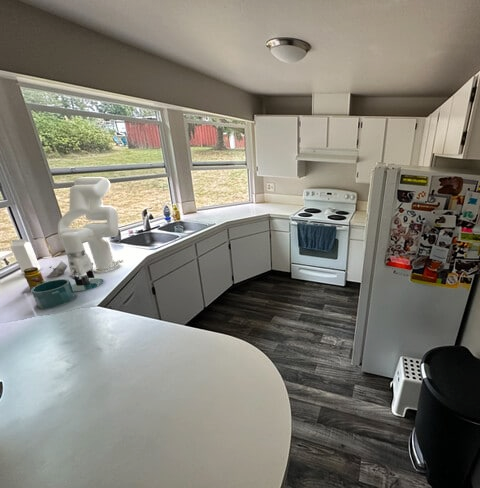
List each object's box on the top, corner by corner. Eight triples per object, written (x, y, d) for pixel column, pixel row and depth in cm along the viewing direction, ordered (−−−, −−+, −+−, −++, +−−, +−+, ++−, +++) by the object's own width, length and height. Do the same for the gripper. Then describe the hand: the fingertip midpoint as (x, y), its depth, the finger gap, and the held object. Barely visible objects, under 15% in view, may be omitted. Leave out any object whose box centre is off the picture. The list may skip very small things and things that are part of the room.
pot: (70, 290, 141) (64, 275, 138) (79, 301, 131) (73, 286, 128) (34, 300, 131) (27, 285, 128) (42, 314, 121) (34, 297, 117)
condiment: (44, 288, 142) (37, 270, 138) (23, 293, 137) (14, 273, 133) (48, 283, 148) (41, 265, 143) (28, 287, 143) (19, 268, 139)
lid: (99, 277, 156) (96, 268, 153) (107, 284, 148) (104, 275, 145) (67, 287, 144) (63, 276, 142) (74, 295, 136) (70, 284, 134)
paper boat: (54, 277, 153) (37, 273, 151) (60, 281, 158) (44, 278, 157) (69, 260, 160) (53, 257, 159) (74, 265, 165) (59, 262, 164)
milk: (35, 272, 159) (22, 240, 152) (22, 274, 157) (8, 241, 149) (41, 268, 164) (28, 237, 157) (28, 270, 162) (14, 238, 154)
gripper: (72, 259, 131) (82, 288, 137) (94, 248, 148) (103, 274, 154) (55, 260, 130) (66, 289, 136) (80, 248, 146) (89, 275, 152)
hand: (85, 281), depth 145 cm, fingers open, 8 cm apart
